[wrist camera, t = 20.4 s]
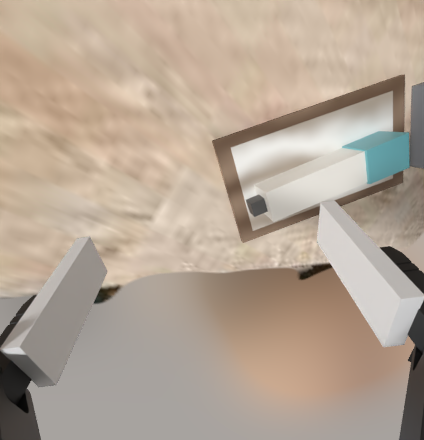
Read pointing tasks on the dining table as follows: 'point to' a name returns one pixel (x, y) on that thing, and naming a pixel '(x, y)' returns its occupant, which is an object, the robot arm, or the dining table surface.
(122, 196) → the dining table surface
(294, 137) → the writing pad
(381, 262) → the robot arm
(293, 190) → the block
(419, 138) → the stand
